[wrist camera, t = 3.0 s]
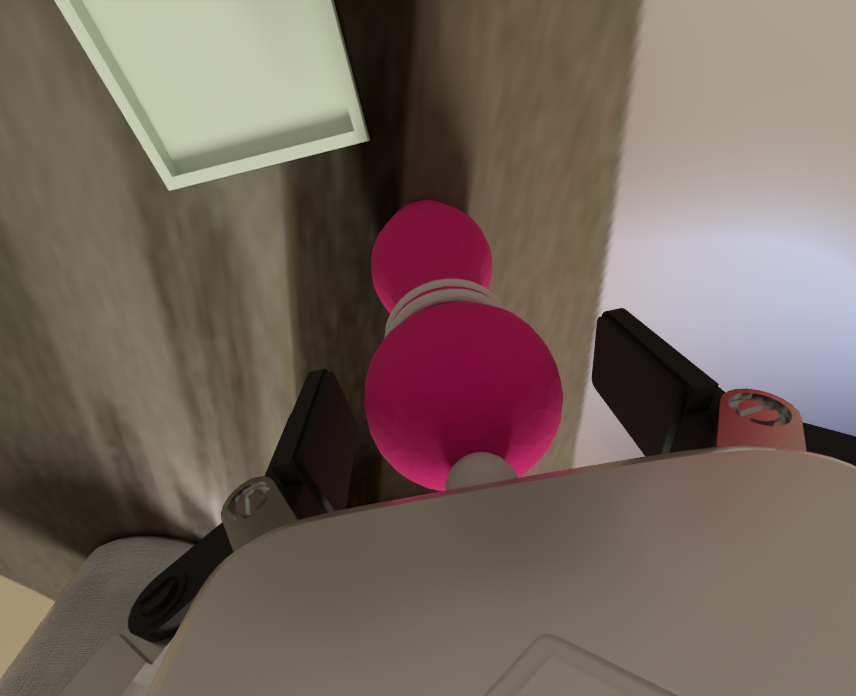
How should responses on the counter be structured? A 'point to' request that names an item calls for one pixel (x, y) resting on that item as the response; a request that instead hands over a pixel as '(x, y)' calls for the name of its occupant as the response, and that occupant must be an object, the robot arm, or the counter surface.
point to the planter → (89, 613)
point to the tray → (223, 80)
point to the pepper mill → (454, 359)
